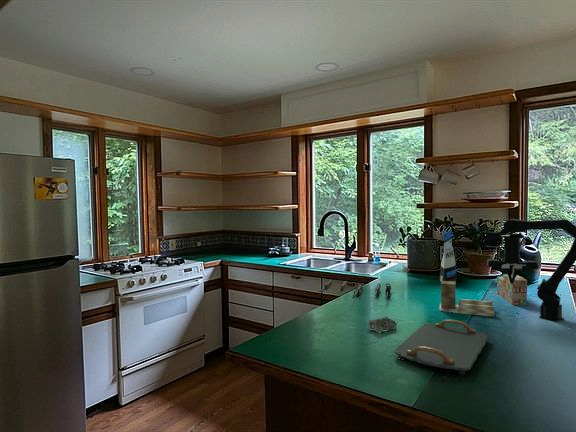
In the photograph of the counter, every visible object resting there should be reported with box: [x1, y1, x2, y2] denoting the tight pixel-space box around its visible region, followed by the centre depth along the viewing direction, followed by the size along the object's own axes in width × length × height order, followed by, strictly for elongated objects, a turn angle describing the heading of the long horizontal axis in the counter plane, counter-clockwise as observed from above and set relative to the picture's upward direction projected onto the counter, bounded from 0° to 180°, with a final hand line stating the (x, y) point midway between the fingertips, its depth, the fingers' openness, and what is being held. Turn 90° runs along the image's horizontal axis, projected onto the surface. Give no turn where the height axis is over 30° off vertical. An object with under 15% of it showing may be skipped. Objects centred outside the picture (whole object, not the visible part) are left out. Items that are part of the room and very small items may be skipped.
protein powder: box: [439, 229, 458, 283], centre depth 229 cm, size 10×24×30 cm, turn 147°
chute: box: [438, 298, 496, 317], centre depth 168 cm, size 22×10×4 cm, turn 66°
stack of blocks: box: [496, 274, 528, 306], centre depth 185 cm, size 21×6×12 cm, turn 168°
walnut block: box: [440, 281, 457, 309], centre depth 171 cm, size 6×6×11 cm
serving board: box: [393, 319, 490, 376], centre depth 126 cm, size 39×23×6 cm, turn 142°
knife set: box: [318, 279, 392, 300], centre depth 198 cm, size 35×33×8 cm
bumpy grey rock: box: [366, 316, 399, 333], centre depth 147 cm, size 11×8×4 cm
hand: (511, 283), depth 163 cm, fingers closed
